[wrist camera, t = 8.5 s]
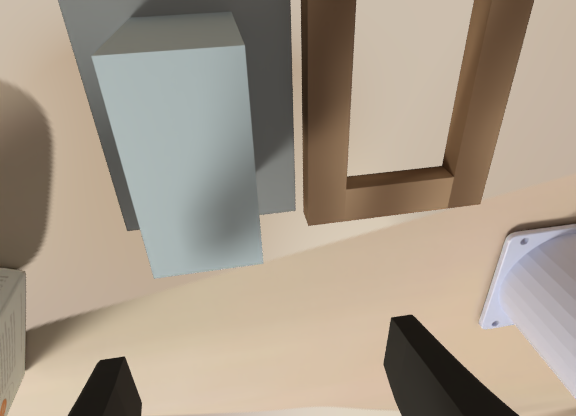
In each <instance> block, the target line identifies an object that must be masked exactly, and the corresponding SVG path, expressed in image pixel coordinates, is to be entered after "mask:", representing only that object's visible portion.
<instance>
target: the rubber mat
mask: <svg viewBox="0 0 576 416" xmlns="http://www.w3.org/2000/svg"><path fill="white" fill-rule="evenodd" d="M58 2H59V5H60V9H61V12H62V15H63V19H64V22H65V25H66V29H67V32H68V35H69V39H70V42H71V45H72V48H73V52H74V55H75V59H76V62H77V65H78V69H79V72H80V75H81V79H82V82H83V85H84V88H85V92H86V95H87V99H88V102H89V105H90V109H91V112H92V115H93V119H94V122H95V125H96V128H97V132H98V135H99V138H100V142H101V145H102V148H103V152H104V155H105V158H106V162H107V165H108V168H109V172H110V175H111V178H112V182H113V185H114V188H115V192H116V195H117V198H118V202H119V205H120V208H121V212H122V215H123V218H124V222H125V225H126V228H127V231H132V230H140V227H139V224H138V220H137V216H136V213H135V209H134V206H133V202H132V199H131V195H130V192H129V188H128V185H127V181H126V177H125V174H124V170H123V167H122V163H121V160H120V156H119V153H118V149H117V145H116V142H115V138H114V135H113V131H112V128H111V124H110V121H109V117H108V113H107V110H106V106H105V103H104V99H103V96H102V92H101V89H100V85H99V81H98V78H97V74H96V71H95V67H94V64H93V60H92V57H91V56H92V55H93V54H94V53H95V52H96V51H97V50H98V49H99V48H100V47H101V46H102V45H103V44H104V43H105V42H106V41H107V40H108V39H109V38H110V37H111V36H112V35H113V34H114V33H115V32H116V31H117V30H118V29H119V28H120V27H121V26H122V25H123V24H124V23H125V22H126V21H127V20H128V19H129V18H131V17H148V16H165V15H181V14H198V13H215V12H232V15H233V17H234V20H235V22H236V25H237V27H238V30H239V32H240V35H241V37H242V40H243V42H244V45H245V54H246V65H247V77H248V89H249V101H250V112H251V124H252V136H253V148H254V159H255V171H256V183H257V195H258V206H259V215H264V214H272V213H281V212H289V211H295V209H296V208H295V170H294V128H293V93H292V92H293V88H292V50H291V10H290V0H58Z"/></svg>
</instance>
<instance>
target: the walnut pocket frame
mask: <svg viewBox="0 0 576 416" xmlns="http://www.w3.org/2000/svg"><path fill="white" fill-rule="evenodd" d="M533 3H534V0H474V4H473V9H472V14H471V19H470V25H469V31H468V35H467V40H466V46H465V51H464V56H463V61H462V66H461V71H460V76H459V82H458V87H457V92H456V97H455V102H454V108H453V113H452V118H451V123H450V128H449V134H448V139H447V144H446V149H445V154H444V159H443V164H442V166H439V167H429V168H421V169H411V170H402V171H393V172H385V173H376V174H367V175H358V176H349V177H347V163H348V145H349V125H350V107H351V88H352V87H351V86H352V69H353V51H354V50H353V49H354V32H355V12H356V0H301V38H302V39H301V40H302V115H303V116H302V120H303V199H304V200H303V205H304V215H305V218H306V220H307V223H308V226H311V225H318V224H326V223H334V222H343V221H351V220H359V219H366V218H374V217H382V216H390V215H398V214H406V213H414V212H422V211H430V210H438V209H446V208H454V207H462V206H470V205H478V204H480V203H481V199H482V196H483V192H484V188H485V184H486V180H487V177H488V173H489V169H490V165H491V161H492V158H493V153H494V150H495V146H496V143H497V139H498V135H499V131H500V127H501V124H502V120H503V116H504V112H505V108H506V105H507V101H508V97H509V93H510V90H511V86H512V82H513V78H514V74H515V71H516V67H517V63H518V59H519V56H520V52H521V48H522V44H523V40H524V37H525V33H526V29H527V25H528V22H529V18H530V14H531V10H532V6H533Z"/></svg>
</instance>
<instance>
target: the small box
mask: <svg viewBox="0 0 576 416" xmlns="http://www.w3.org/2000/svg"><path fill="white" fill-rule="evenodd" d="M25 337H26V273H25V271H22V270H15V269H8V268H0V416H7V414H8V412H9V409H10V407H11V405H12V402H13V400H14V398H15V395H16V393H17V391H18V388H19V386H20V384H21V381H22V379H23V377H24V374H25Z"/></svg>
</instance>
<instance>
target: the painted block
mask: <svg viewBox="0 0 576 416" xmlns="http://www.w3.org/2000/svg"><path fill="white" fill-rule="evenodd" d="M91 57H92V60H93V64H94V67H95V71H96V74H97V78H98V81H99V85H100V89H101V92H102V96H103V99H104V103H105V106H106V110H107V113H108V117H109V121H110V124H111V128H112V131H113V135H114V138H115V142H116V145H117V149H118V153H119V156H120V160H121V163H122V167H123V170H124V174H125V177H126V181H127V185H128V188H129V192H130V195H131V199H132V202H133V206H134V209H135V213H136V216H137V220H138V224H139V227H140V231H141V234H142V237H143V241H144V245H145V248H146V252H147V255H148V259H149V262H150V266H151V270H152V273H153V277H154V279H155V278H162V277H170V276H177V275H184V274H191V273H199V272H205V271H213V270H221V269H228V268H235V267H242V266H250V265H257V264H263V253H262V242H261V230H260V218H259V206H258V195H257V183H256V171H255V159H254V148H253V136H252V124H251V112H250V101H249V89H248V77H247V65H246V54H245V45H244V42H243V40H242V37H241V35H240V32H239V30H238V27H237V25H236V22H235V20H234V17H233V15H232V12H215V13H198V14H181V15H165V16H148V17H131V18H129V19H128V20H127V21H126V22H125V23H124V24H123V25H122V26H121V27H120V28H119V29H118V30H117V31H116V32H115V33H114V34H113V35H112V36H111V37H110V38H109V39H108V40H107V41H106V42H105V43H104V44H103V45H102V46H101V47H100V48H99V49H98V50H97V51H96V52H95V53H94V54H93V55H92V56H91Z"/></svg>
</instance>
